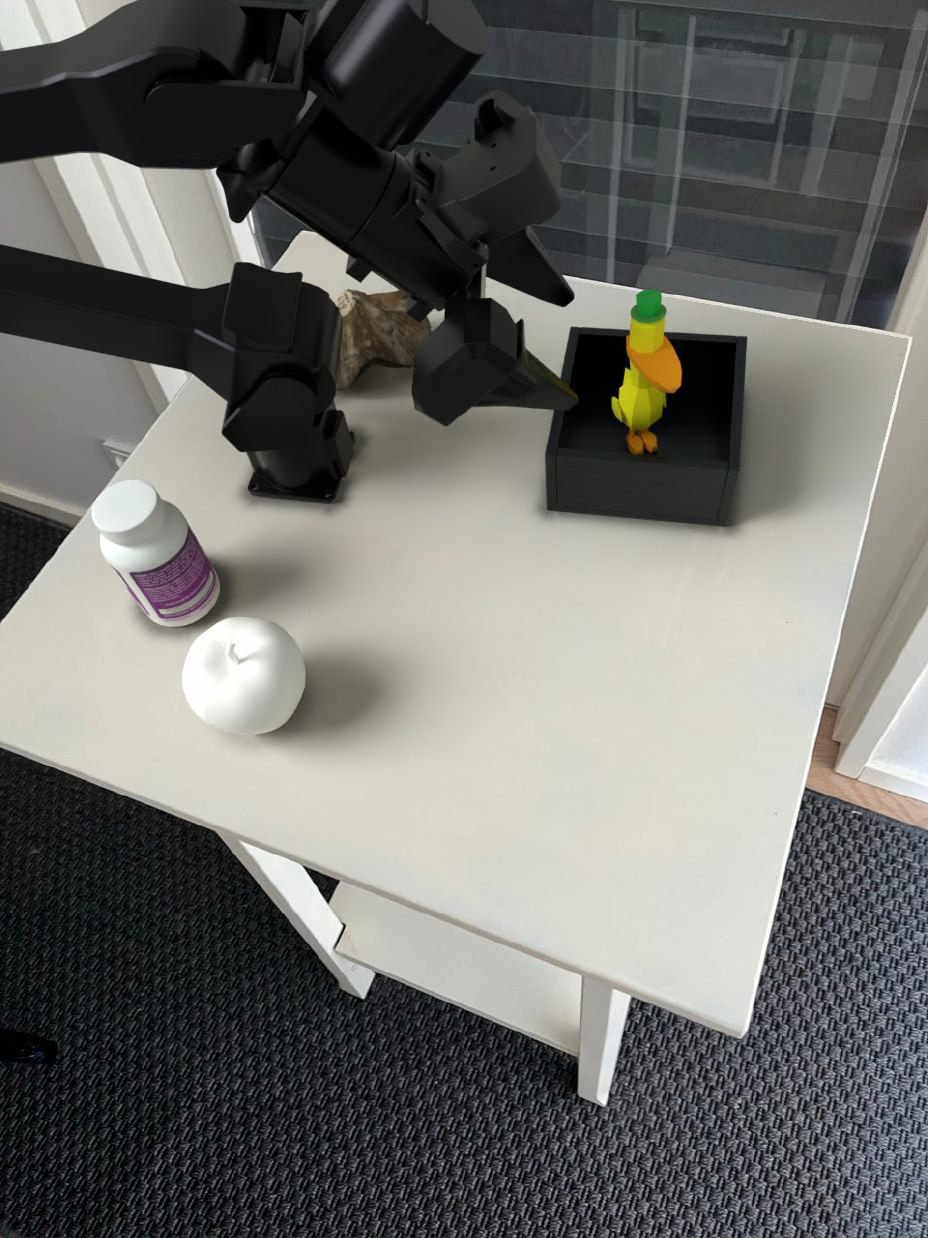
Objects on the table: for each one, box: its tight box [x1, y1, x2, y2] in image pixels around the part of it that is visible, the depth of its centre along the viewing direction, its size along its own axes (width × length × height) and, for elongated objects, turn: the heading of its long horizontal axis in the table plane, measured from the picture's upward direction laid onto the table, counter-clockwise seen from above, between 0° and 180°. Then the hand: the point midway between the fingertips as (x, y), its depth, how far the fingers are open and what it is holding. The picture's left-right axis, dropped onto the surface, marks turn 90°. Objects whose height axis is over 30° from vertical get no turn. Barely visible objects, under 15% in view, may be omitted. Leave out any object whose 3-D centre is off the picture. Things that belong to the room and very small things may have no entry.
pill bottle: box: [91, 478, 221, 628], centre depth 58 cm, size 5×5×10 cm
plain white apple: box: [181, 616, 306, 736], centre depth 54 cm, size 7×7×8 cm
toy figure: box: [612, 288, 682, 455], centre depth 59 cm, size 7×4×12 cm, turn 18°
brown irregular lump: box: [333, 288, 432, 392], centre depth 70 cm, size 8×7×10 cm
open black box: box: [544, 326, 748, 528], centre depth 63 cm, size 12×12×6 cm
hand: (571, 350), depth 58 cm, fingers open, 9 cm apart
